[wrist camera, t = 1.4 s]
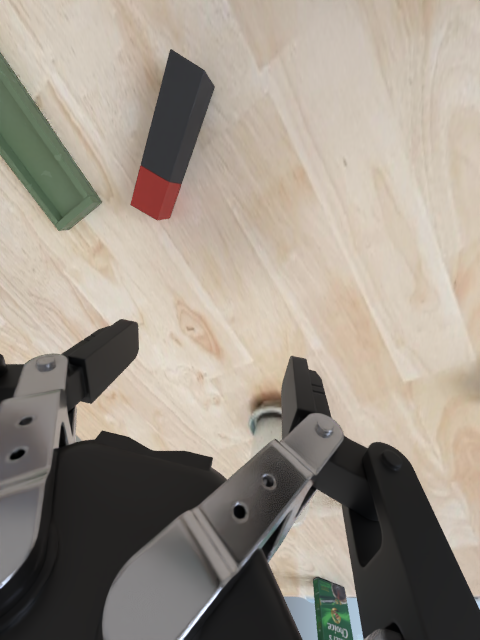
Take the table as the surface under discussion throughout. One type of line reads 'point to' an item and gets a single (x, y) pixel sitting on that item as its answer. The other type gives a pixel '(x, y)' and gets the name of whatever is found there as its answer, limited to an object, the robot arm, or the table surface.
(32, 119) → the tray
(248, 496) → the robot arm
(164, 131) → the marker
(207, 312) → the table surface
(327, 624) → the coffee box
